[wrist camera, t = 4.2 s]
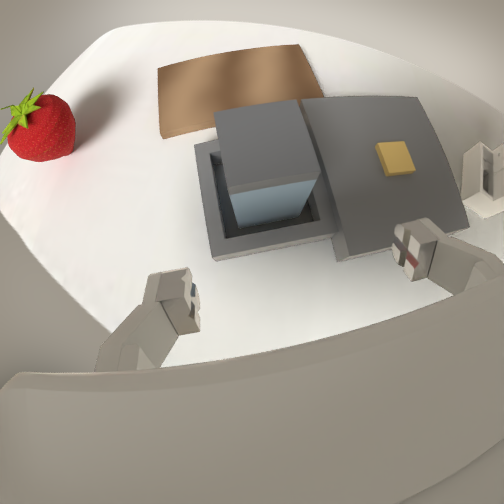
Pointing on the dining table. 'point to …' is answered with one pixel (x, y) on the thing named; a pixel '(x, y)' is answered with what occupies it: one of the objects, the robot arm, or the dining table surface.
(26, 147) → the strawberry
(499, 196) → the white slotted stand
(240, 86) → the walnut pad
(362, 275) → the dining table surface
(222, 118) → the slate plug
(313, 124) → the grey socket base
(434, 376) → the robot arm
